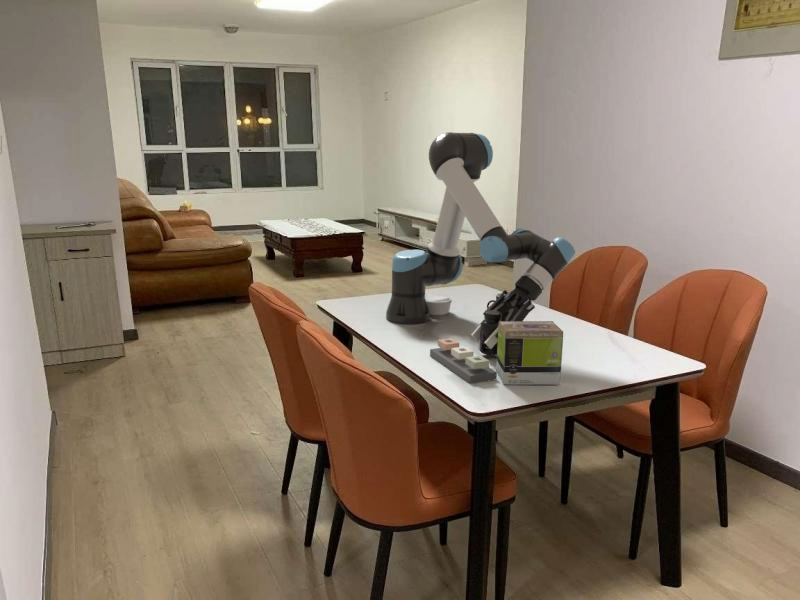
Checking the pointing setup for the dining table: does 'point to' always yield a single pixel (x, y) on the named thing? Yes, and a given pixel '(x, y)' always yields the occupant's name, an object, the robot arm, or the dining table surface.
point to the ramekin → (438, 304)
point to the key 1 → (448, 344)
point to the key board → (462, 367)
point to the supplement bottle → (489, 331)
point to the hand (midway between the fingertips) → (480, 341)
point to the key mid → (462, 352)
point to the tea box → (529, 352)
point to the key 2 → (477, 362)
